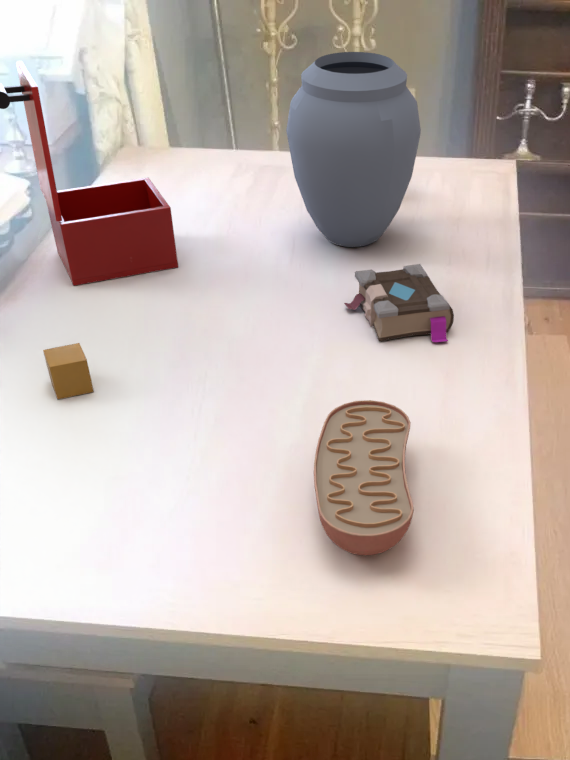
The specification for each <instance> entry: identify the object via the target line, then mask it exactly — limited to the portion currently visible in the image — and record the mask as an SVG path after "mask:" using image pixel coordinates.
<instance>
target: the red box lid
mask: <svg viewBox="0 0 570 760" xmlns="http://www.w3.org/2000/svg"><path fill="white" fill-rule="evenodd" d="M15 65H16V70H17V74H18V75H17V76H18V80H19V84H18V85H6V86H4V85H3V84H2V83H1V82H0V110H6V109H7V108H9V107H10V104H11V103H19V102H23V105H24V111H25V115H26V120H27V127H28V132H29V137H30V142H31V148H32V151H33V157H34V162H35V167H36V168H35V169H36V172H37V178H38V183H39V188H40V191H41V193H42V195H43V197H44V199H45V202H46V201H47V203H48V205H49V207H50V209H51V211H52V213H53V215H54V217H55V219H56V221H62V217H61V211H60V206H59V200H58V195H57V191H58V190H57V185H56V184H57V183H56V179H55V173H54V167H53V162H52V157H51V152H50V145H49V141H48V135H47V130H46V124H45V119H44V118H45V117H44V112H43V106H42V101H41V97H40V91H39V87H38V85H37V83H36V81H35V80H34V79H33V77H32V76H31V75H32V74H31V73H30V72H29V71H28V69H27V67H26V65H25V64H24V62H23V60H17V61H15ZM47 203H46V204H47Z"/></svg>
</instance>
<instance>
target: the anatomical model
mask: <svg viewBox="0 0 570 760" xmlns="http://www.w3.org/2000/svg"><path fill="white" fill-rule="evenodd" d="M411 423H412V422H411V420H410V417H409V416H408V415H407V413H406V412H404V411H403V410H402V409H401V408H399V407H398V406H396V405H394V404H391V403H387V402H385V401H379V400H373V399H372V400H371V399H367V400H366V399H365V400H353V401H349V402H345V403H342V404H341V405H339V406H337V407H334V409H332V410H331V411H330V412H329V413H328V414H327V416H326V418H325V420H324V422H323V425H322V428H321V431H320V433H319V437H318V441H317V444H316V449H315V454H314V460H313V461H314V462H313V484H314V485H313V486H314V493H315V499H316V505H317V511H318V515H319V520H320V523H321V526H322V528H323V530H324V532H325V534H326V536H327V537H328V538H329V539H330V540H331V542H333V544H334V545H336V546H337V547H339V549H342V550H344V551H345V552H348V553H350V554H353V555H358V556H375V555H378V554H382V553H384V552H387V551H389V550H390V549H392V548H393V547H395V546H396V545H397V544H399V542H400V541H402V540H403V538H404V537H405V536H406V533H407V532H408V531H409V528H410V526H411V523H412V519H413V515H414V511H415V509H414V503H413V499H412V496H411V493H410V492H411V491H410V489H409V485H408V479H407V475H406V449H407V443H408V439H409V435H410V430H411Z"/></svg>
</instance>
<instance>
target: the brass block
mask: <svg viewBox="0 0 570 760" xmlns="http://www.w3.org/2000/svg"><path fill="white" fill-rule="evenodd" d="M42 352H43V356H44V361H45V364H46V368H47V371H48V375H49V379H50V383H51V386H52V388H53V391H54V394H55V397H56V399H57V400H62V399H68V398H72V397H77V396H80V395H86V394H90V393H91V394H92V393H94V392H95V391H94V385H93V382H92V377H91V373H90V368H89V364H88V359H87V357H86V354H85V352H84V350H83V347H82V345H81V343H80V342H77V343H71V344H66V345H61V346H55V347H51V348H46V349H42Z"/></svg>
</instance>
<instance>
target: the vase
mask: <svg viewBox="0 0 570 760" xmlns="http://www.w3.org/2000/svg"><path fill="white" fill-rule="evenodd" d="M300 79H301V86H300V87H299V89H297V91H296V93H294V95H293V97H292V98H291V101H290V105H289V111H288V117H287V123H286V130H285V131H286V132H285V133H286V136H287V143H288V147H289V148H288V149H289V153H290V159H291V165H292V170H293V175H294V179H295V182H296V184H297V187H298V190H299V193H300V195H301V198H302V201H303V204H304V206H305V209H306V211H307V213H308V215H309V216H310V218H311V219H312V222H313V223H314V224H315V226H316V228H317V229H318V232H320V233H321V234H322V235H323V237H324V238H325V239H326V240H327V241H328V242H329V243H332V244H334V245H336V246H337V245H338V246H339V247H345V248H361V247H365V246H369V245H371V244H373V243H376V242H377V241H378V240H379V239H380V238H381V237H382V235H384V234H385V232H386V231H387V230H388V228H389V226H390V225H391V223H392V222H393V220H394V219H395V217H396V216H397V214H398V212H399V210H400V208H401V205H402V203H403V200H404V199H405V198H404V197H405V195H406V192H407V190H408V188H409V185H410V183H411V180H412V178H413V174H414V168H415V163H416V158H417V153H418V149H419V143H420V138H421V134H422V133H421V130H422V127H421V121H420V115H419V106H418V101H417V99H416V98H415V96H414V95H413V93H412V92H411V90H410V89H409V88H408V86H407V80H408V73H407V72H406V71H405V70H404V69H403V68H401V67H400V66H399V65H398V64H397V63H396V62H395V61H394V60H393V59H392V58H390V57H389V56H386V55H383V54H379V53H374V52H366V51H342V52H334V53H329V54H328V53H327V54H325V55H322V56H320V57H318V58H316V59H315V61H313V62H312V63H311V64H310V65H308V66H307V67H306V68H305V69H304V70H303V71H302V72H301V74H300Z"/></svg>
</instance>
